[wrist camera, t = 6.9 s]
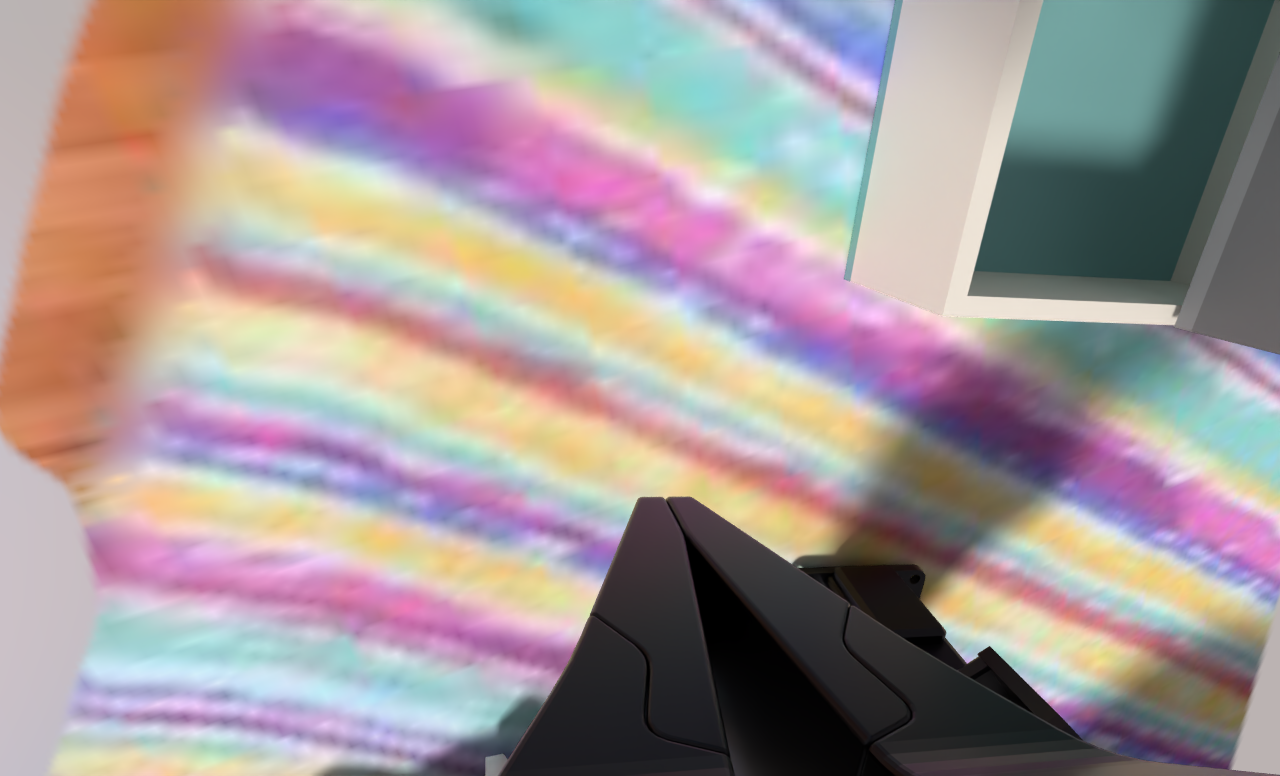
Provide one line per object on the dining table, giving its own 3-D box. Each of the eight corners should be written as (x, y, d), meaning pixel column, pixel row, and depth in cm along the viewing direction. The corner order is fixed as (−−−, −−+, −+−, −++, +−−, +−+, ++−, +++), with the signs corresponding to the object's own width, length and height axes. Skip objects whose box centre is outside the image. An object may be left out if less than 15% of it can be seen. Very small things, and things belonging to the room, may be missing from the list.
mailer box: (1165, 294, 24) (1350, 332, 18) (843, 279, 22) (942, 316, 16) (1295, -57, 20) (1583, -145, 14) (916, -117, 18) (1080, -247, 12)
